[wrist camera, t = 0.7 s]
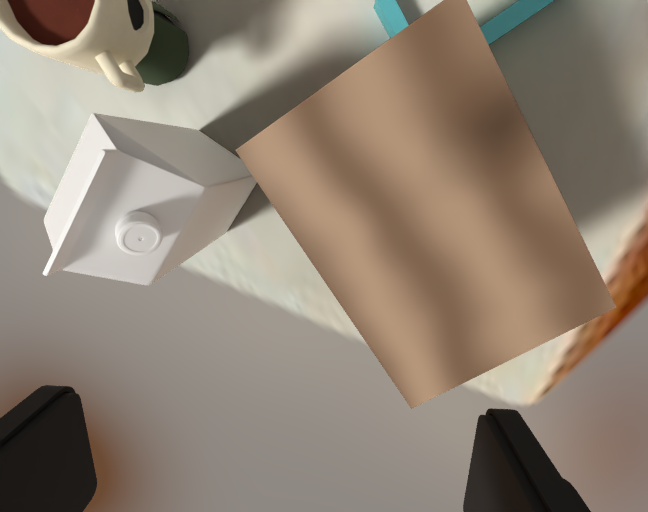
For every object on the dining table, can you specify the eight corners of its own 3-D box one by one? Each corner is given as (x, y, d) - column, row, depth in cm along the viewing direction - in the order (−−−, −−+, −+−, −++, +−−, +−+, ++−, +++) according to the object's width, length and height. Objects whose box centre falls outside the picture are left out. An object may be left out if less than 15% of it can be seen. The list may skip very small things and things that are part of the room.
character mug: (223, 86, 33) (149, 45, 20) (159, 126, 34) (52, 111, 21) (153, -39, 30) (21, -173, 18) (87, 8, 32) (-80, -86, 19)
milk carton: (163, 192, 36) (-25, 235, 17) (198, 129, 34) (29, 101, 16) (226, 233, 36) (109, 314, 18) (263, 173, 35) (174, 196, 16)
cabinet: (409, 58, 31) (460, -12, 18) (512, 248, 35) (616, 307, 22) (277, 151, 34) (235, 150, 21) (387, 318, 38) (411, 408, 25)
